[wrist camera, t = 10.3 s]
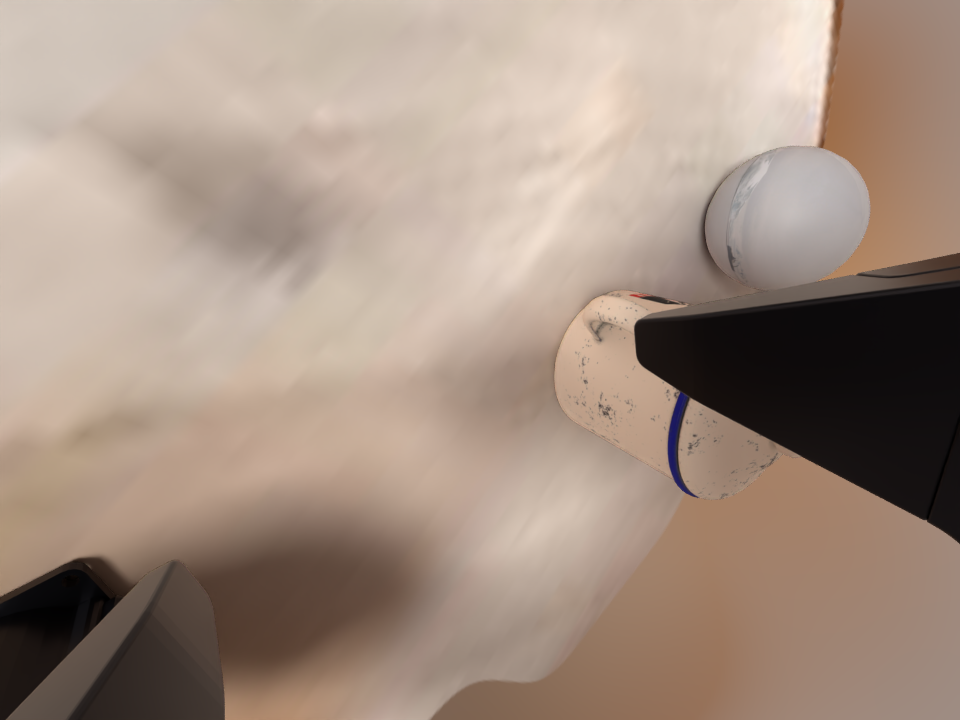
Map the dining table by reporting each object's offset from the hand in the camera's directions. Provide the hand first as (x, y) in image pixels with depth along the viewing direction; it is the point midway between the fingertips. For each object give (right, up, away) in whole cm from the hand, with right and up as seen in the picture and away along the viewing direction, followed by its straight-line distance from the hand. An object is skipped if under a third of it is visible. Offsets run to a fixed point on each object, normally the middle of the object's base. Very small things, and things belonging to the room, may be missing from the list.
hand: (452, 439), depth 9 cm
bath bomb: (+16, +11, +22) cm, 29 cm away
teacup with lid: (+7, +2, +20) cm, 21 cm away
